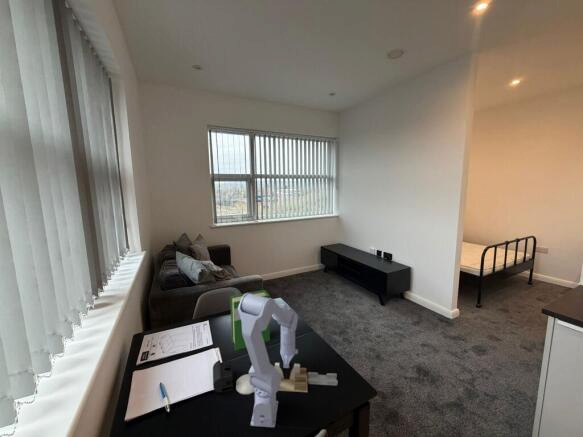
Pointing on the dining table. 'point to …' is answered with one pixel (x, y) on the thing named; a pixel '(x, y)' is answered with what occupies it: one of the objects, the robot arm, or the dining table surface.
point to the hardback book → (237, 323)
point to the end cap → (222, 376)
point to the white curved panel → (294, 371)
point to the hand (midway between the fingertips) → (287, 371)
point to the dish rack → (295, 382)
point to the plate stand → (322, 379)
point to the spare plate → (244, 385)
